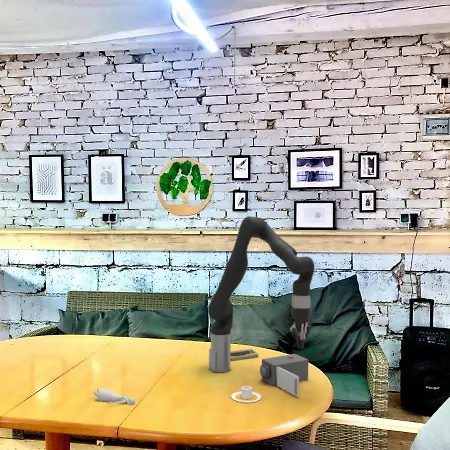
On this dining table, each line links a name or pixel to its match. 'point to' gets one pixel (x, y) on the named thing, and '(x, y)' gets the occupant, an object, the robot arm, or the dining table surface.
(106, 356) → the dining table surface
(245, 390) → the candle holder
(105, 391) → the woman figurine
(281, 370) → the side door
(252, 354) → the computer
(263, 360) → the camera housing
